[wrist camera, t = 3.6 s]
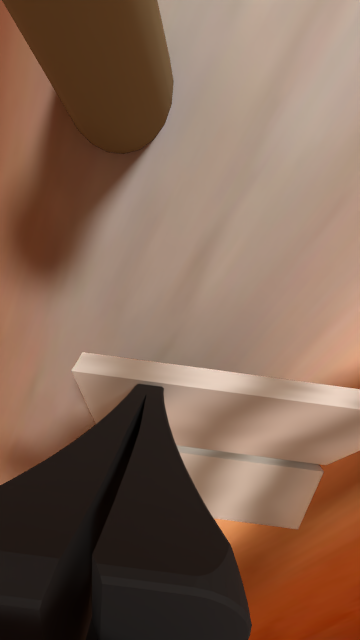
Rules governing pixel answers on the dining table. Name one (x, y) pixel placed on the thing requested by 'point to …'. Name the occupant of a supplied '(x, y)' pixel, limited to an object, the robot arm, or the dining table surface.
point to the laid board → (252, 486)
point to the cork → (103, 65)
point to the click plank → (232, 408)
